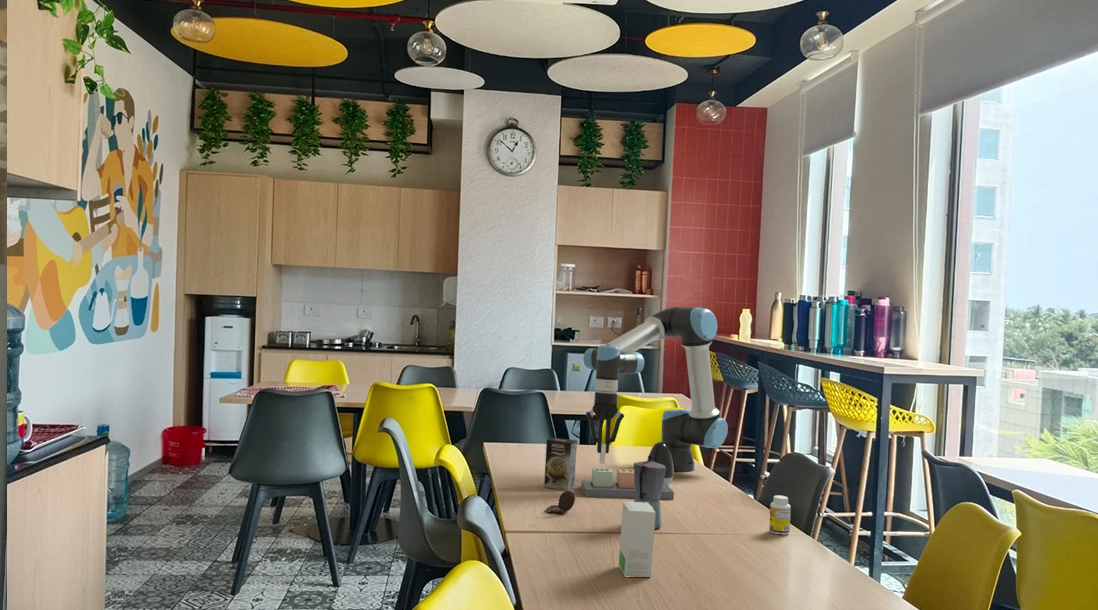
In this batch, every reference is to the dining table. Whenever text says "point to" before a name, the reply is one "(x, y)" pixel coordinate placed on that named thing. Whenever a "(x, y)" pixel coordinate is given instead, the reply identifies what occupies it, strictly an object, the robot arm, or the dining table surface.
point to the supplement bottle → (780, 515)
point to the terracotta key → (625, 478)
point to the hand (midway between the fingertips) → (602, 462)
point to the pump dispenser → (663, 460)
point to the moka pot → (649, 484)
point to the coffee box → (560, 463)
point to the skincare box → (637, 539)
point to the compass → (563, 503)
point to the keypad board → (619, 491)
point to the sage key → (601, 477)
